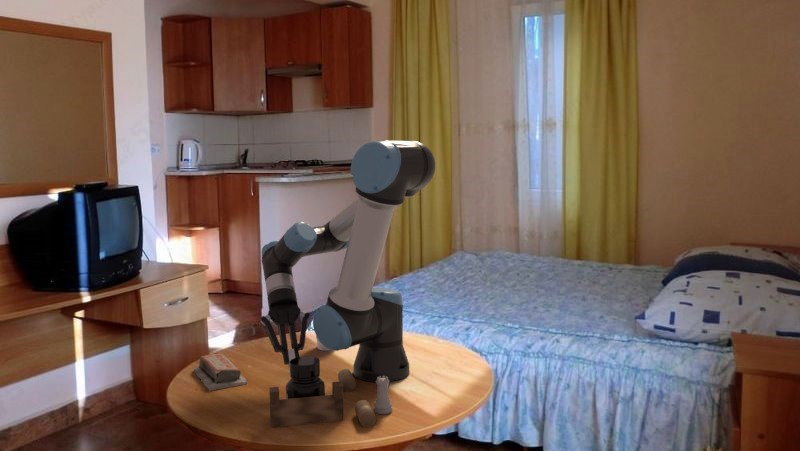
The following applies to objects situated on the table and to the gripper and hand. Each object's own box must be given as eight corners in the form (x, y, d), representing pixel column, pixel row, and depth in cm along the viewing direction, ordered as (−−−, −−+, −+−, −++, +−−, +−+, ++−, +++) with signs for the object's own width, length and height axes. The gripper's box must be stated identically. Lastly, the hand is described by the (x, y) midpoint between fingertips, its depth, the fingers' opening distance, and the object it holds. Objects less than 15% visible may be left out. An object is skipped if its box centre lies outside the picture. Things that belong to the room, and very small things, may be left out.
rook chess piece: (377, 416, 154) (377, 382, 153) (370, 409, 158) (369, 376, 157) (395, 413, 156) (395, 379, 155) (388, 406, 160) (387, 373, 159)
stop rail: (341, 415, 155) (341, 381, 154) (343, 420, 152) (343, 385, 151) (270, 422, 151) (269, 387, 150) (270, 427, 148) (269, 392, 147)
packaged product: (191, 355, 186) (227, 350, 191) (192, 372, 186) (228, 366, 191) (208, 374, 170) (247, 367, 175) (209, 392, 171) (248, 385, 176)
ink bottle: (306, 400, 164) (304, 352, 162) (334, 408, 159) (333, 358, 157) (277, 413, 156) (275, 363, 154) (305, 422, 151) (304, 370, 149)
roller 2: (354, 415, 155) (354, 400, 154) (369, 414, 155) (370, 399, 155) (359, 427, 148) (360, 411, 147) (375, 426, 149) (376, 411, 148)
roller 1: (340, 384, 176) (335, 372, 176) (353, 378, 177) (348, 366, 176) (344, 394, 170) (339, 381, 169) (358, 387, 170) (352, 375, 170)
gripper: (303, 299, 185) (317, 378, 172) (255, 303, 181) (266, 384, 168) (307, 284, 180) (322, 365, 166) (257, 288, 175) (268, 371, 162)
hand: (294, 375), depth 167 cm, fingers closed
